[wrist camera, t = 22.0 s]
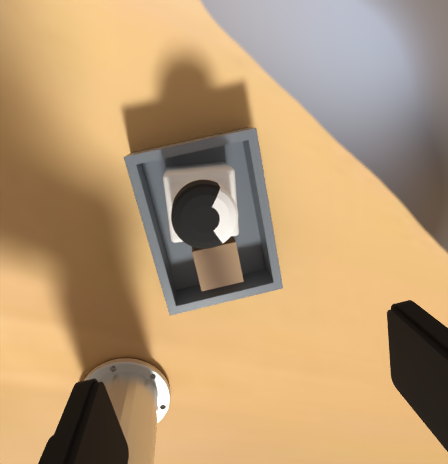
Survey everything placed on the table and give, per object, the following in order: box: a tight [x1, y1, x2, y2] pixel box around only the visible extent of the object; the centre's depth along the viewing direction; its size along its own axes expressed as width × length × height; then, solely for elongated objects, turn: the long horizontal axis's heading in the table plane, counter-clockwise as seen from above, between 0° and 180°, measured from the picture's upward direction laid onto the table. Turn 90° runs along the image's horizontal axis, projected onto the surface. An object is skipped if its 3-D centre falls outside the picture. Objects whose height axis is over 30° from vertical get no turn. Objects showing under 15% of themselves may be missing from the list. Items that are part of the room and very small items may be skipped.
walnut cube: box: [192, 236, 244, 291], centre depth 42 cm, size 5×5×5 cm
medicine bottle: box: [163, 161, 239, 249], centre depth 36 cm, size 7×7×12 cm
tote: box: [124, 128, 283, 315], centre depth 41 cm, size 19×14×5 cm
